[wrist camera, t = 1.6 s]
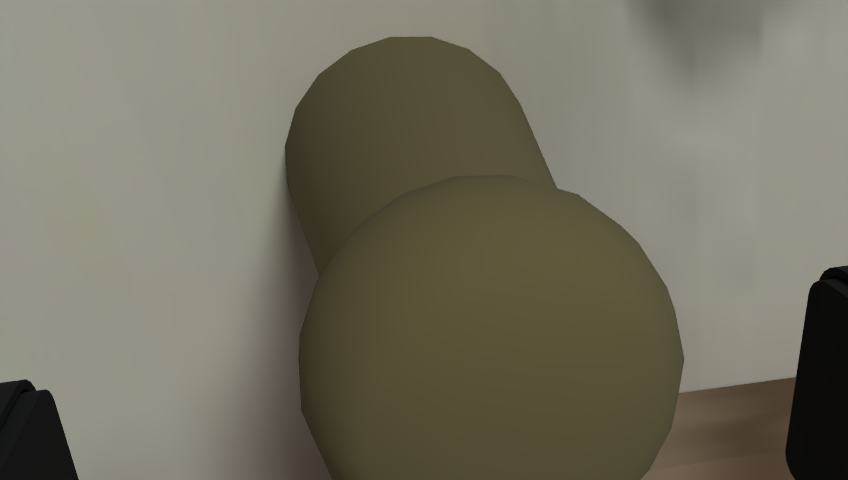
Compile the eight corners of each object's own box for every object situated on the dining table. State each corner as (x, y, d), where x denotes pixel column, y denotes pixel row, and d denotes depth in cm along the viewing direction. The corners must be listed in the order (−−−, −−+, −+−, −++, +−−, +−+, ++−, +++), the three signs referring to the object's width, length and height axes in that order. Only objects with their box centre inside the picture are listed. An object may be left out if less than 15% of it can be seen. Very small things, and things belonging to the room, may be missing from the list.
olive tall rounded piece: (501, 282, 21) (678, 630, 11) (272, 259, 20) (236, 624, 10) (554, 56, 19) (836, 234, 9) (299, 15, 18) (287, 168, 8)
